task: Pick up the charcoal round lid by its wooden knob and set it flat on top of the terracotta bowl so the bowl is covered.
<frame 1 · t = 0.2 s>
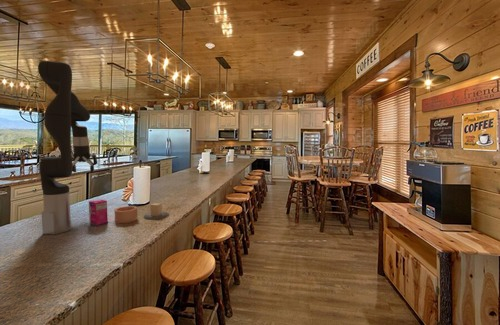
hand: (83, 171, 142), 22 cm above the worktop, tool pointing down, fingers open, 8 cm apart
lid: (156, 216, 134), on the worktop
supplement box: (98, 224, 120), on the worktop
bowl: (126, 220, 126), on the worktop
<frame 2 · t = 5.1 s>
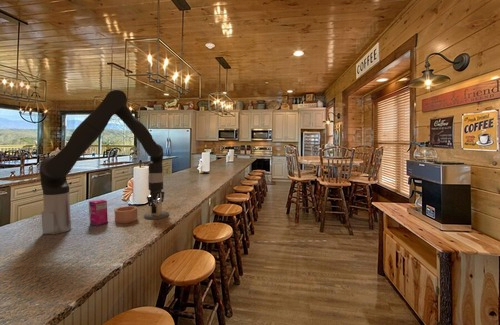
hand: (156, 211, 134), 2 cm above the worktop, tool pointing down, fingers closed on lid, 4 cm apart
lid: (156, 215, 134), on the worktop, touching gripper
everything else where it was.
when the fingers open (10 cm above the worktop, at t = 9.8 s): lid drops 1 cm, resting on bowl.
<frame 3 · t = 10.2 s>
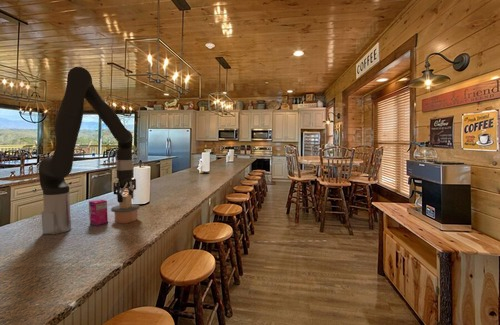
hand: (125, 200, 125), 10 cm above the worktop, tool pointing down, fingers open, 7 cm apart
lid: (125, 208, 126), point 6 cm above the worktop, touching bowl
bowl: (126, 220, 126), on the worktop, touching lid
everything else where it was.
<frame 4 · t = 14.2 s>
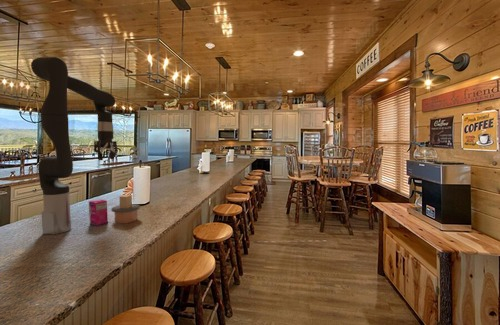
hand: (106, 159, 137), 30 cm above the worktop, tool pointing down, fingers open, 8 cm apart
nothing on the worktop moved.
at the end: lid 0.1 cm from the bowl (horizontally); lid point 5.9 cm above the worktop; lid tilted 0° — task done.
